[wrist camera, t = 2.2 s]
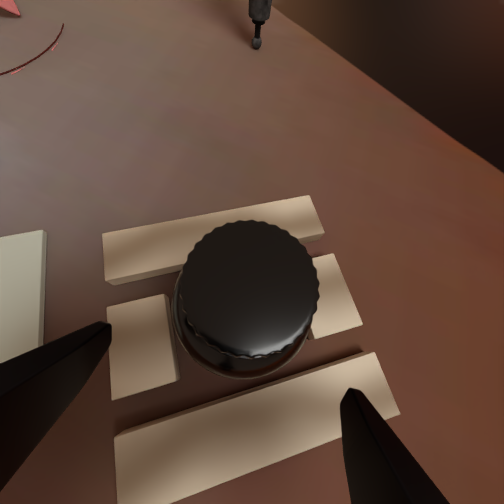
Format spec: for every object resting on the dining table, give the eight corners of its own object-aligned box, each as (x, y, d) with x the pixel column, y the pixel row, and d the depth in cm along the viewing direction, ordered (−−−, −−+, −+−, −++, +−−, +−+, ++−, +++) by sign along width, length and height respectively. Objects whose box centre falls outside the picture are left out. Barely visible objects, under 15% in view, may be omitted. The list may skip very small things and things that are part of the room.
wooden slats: (386, 408, 18) (400, 413, 16) (129, 506, 14) (118, 523, 13) (304, 204, 24) (309, 195, 22) (111, 241, 20) (102, 233, 19)
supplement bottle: (177, 340, 18) (93, 328, 7) (220, 264, 21) (208, 166, 9) (259, 382, 17) (310, 444, 6) (293, 299, 20) (371, 238, 9)
